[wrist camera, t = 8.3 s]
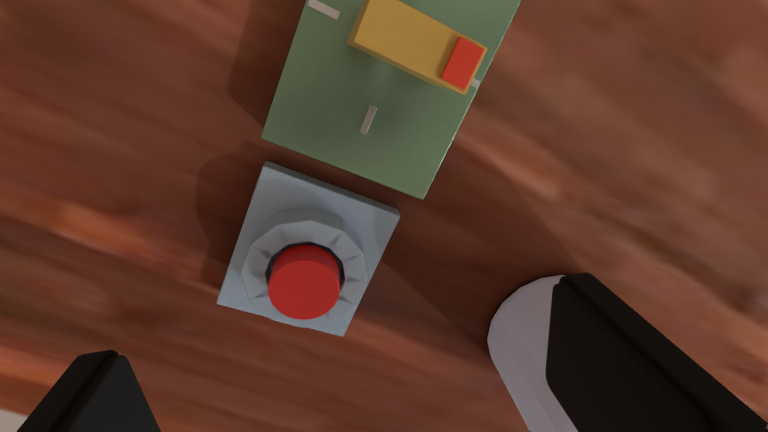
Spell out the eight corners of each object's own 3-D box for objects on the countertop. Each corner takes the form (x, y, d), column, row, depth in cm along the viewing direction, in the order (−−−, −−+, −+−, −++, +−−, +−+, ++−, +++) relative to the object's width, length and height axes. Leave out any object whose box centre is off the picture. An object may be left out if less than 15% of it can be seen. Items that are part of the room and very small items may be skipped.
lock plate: (359, -151, 17) (363, -177, 15) (528, -46, 19) (551, -57, 17) (265, 130, 21) (259, 139, 19) (416, 189, 23) (424, 201, 21)
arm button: (284, 235, 21) (281, 250, 19) (349, 255, 22) (350, 272, 20) (263, 290, 22) (258, 309, 20) (325, 308, 23) (325, 327, 21)
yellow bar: (346, 43, 18) (353, 41, 13) (361, 2, 17) (374, -15, 13) (432, 84, 19) (467, 96, 14) (449, 47, 19) (491, 47, 14)
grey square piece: (266, 159, 22) (257, 175, 19) (397, 208, 24) (407, 229, 21) (220, 292, 24) (207, 323, 22) (342, 325, 27) (344, 357, 24)
